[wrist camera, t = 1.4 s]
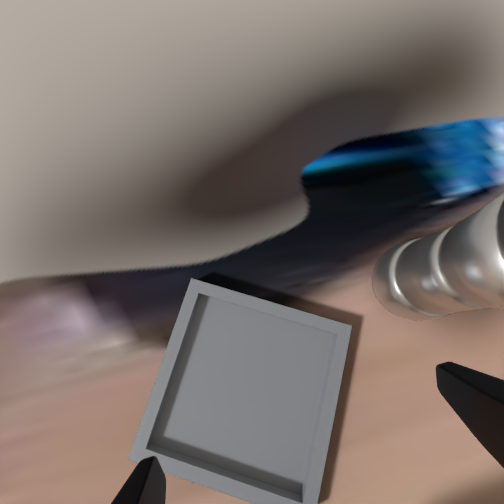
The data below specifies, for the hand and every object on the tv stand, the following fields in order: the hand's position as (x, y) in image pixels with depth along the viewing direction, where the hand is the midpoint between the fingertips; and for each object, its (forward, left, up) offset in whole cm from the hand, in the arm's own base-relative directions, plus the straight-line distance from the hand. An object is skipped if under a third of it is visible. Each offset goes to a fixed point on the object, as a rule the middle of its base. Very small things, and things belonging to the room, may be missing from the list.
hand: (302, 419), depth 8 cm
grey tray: (+1, +3, -15) cm, 16 cm away
